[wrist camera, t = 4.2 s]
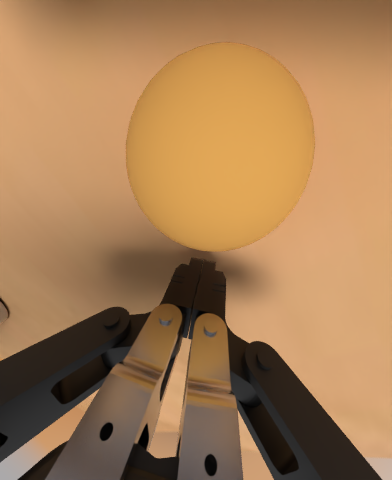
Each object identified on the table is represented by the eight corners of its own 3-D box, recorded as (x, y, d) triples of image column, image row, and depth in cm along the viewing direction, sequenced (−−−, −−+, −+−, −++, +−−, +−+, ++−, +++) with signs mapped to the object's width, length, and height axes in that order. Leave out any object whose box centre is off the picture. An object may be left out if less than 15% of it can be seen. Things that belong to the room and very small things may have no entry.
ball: (9, 163, 3) (130, -16, 4) (143, 249, 8) (174, 157, 10) (420, 234, 2) (380, -18, 4) (262, 276, 8) (274, 171, 9)
